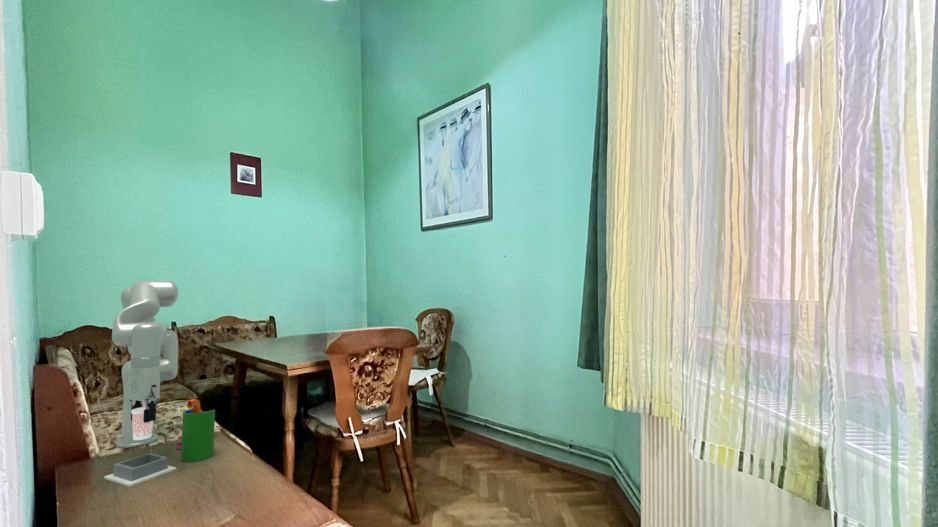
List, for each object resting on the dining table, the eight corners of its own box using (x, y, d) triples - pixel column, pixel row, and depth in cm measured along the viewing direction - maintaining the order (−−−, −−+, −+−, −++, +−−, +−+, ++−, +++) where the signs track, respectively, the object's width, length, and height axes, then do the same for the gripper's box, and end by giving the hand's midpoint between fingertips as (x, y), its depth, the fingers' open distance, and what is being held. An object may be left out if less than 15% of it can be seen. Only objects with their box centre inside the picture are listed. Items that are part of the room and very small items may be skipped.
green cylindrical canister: (219, 452, 148) (221, 395, 149) (201, 462, 139) (203, 401, 140) (193, 451, 149) (195, 394, 150) (173, 461, 140) (175, 401, 141)
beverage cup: (144, 441, 128) (146, 394, 129) (124, 441, 128) (126, 395, 129) (159, 434, 134) (161, 390, 135) (140, 434, 134) (142, 390, 135)
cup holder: (103, 478, 128) (104, 465, 128) (150, 462, 139) (151, 450, 140) (129, 486, 122) (130, 472, 122) (176, 469, 134) (176, 456, 134)
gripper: (116, 363, 133) (114, 420, 132) (148, 366, 126) (145, 426, 125) (143, 359, 140) (140, 414, 139) (174, 362, 133) (172, 420, 131)
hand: (143, 419), depth 132 cm, fingers closed on beverage cup, 6 cm apart
